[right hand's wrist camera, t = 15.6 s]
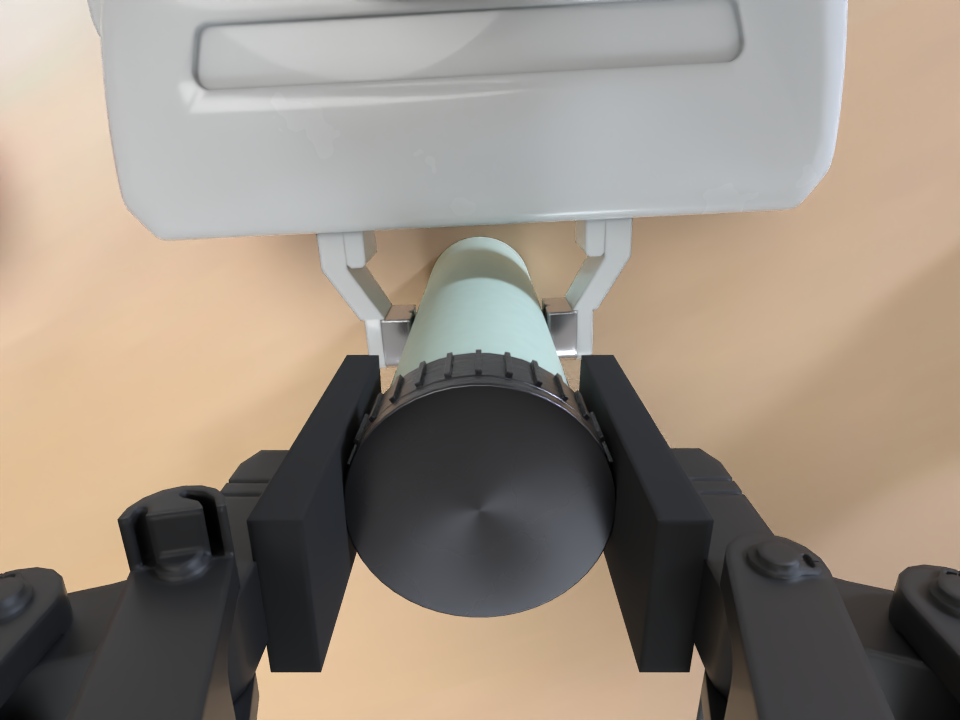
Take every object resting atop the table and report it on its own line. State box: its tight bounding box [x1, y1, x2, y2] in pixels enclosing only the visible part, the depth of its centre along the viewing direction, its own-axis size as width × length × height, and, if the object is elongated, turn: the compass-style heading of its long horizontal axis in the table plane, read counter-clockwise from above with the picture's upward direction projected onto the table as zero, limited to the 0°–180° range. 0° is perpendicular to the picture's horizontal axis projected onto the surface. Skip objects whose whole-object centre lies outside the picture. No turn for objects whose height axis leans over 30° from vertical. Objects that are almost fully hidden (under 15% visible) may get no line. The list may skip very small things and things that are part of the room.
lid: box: [344, 349, 617, 617], centre depth 11 cm, size 5×5×2 cm
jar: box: [390, 237, 569, 387], centre depth 19 cm, size 4×4×16 cm
